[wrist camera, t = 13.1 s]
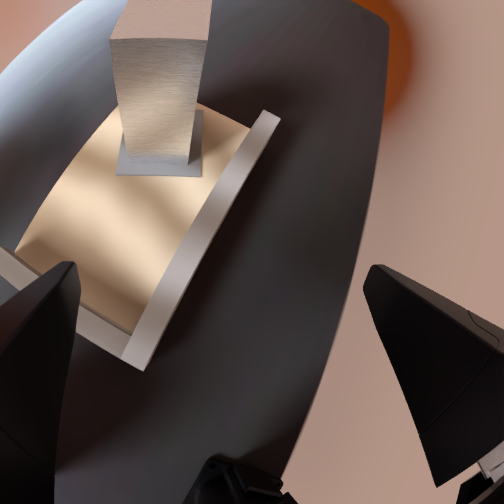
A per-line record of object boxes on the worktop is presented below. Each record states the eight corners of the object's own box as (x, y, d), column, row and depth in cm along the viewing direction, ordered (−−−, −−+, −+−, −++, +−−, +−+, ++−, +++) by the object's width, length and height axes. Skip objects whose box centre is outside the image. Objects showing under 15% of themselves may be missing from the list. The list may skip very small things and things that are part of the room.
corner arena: (148, 363, 20) (143, 371, 16) (11, 272, 18) (-15, 261, 15) (266, 145, 26) (280, 118, 22) (143, 86, 25) (142, 56, 21)
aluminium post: (187, 164, 23) (207, 40, 11) (129, 163, 21) (109, 39, 10) (190, 118, 24) (212, -3, 12) (137, 117, 22) (131, -5, 11)
